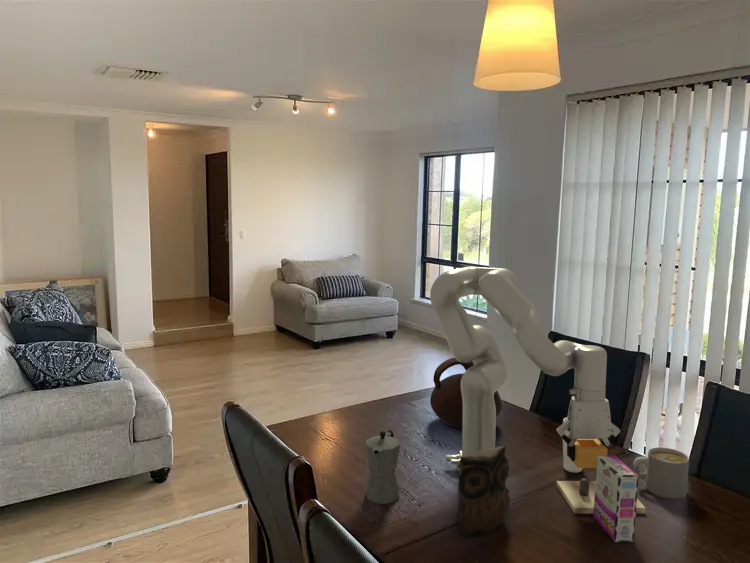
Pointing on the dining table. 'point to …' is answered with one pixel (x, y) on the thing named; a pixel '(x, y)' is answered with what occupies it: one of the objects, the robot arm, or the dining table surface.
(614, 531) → the candy bar box
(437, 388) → the jug
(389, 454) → the coffeepot
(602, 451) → the small open box
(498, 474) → the owl
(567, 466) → the drinking glass
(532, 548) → the dining table surface
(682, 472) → the coffee mug
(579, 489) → the board
